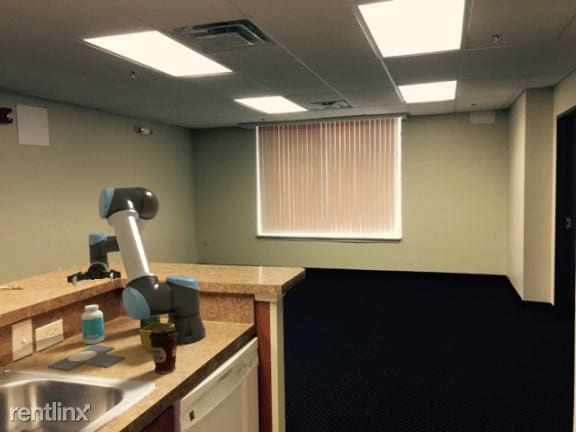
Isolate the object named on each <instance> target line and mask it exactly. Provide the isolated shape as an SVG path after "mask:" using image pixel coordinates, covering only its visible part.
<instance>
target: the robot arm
mask: <svg viewBox="0 0 576 432" xmlns="http://www.w3.org/2000/svg"><path fill="white" fill-rule="evenodd" d="M159 201H160V200H159V199H158V196H157V195H156V194H155V192H153V191H152V190H151V189H150V188H146V187H143V186H136V187H135V186H134V187H109V188H103V189H102V191H101V192H100V195H99V200H98V213H99V217H100V218H101V219H103V220H105V219H106V223H107V224H108V225H109V226H110V227H113V230H114V231H113V232H114V235H107V233H106V232H93V233H90V234H89V235H88V250H89V251H88V252H89V267H88V269H87V271H85V272H82V271H78V272H77V273H73V274H71V275H68V276H66V279H67V280H66V281H67V283H68V284H69V283H71V285H72V287H76V286H77V284H78V282H82V281H89V280H91V281H92V280H94V279H102V280H104V279H109V282H110V283H111V284H113V282H114V280H116V279H122V272H121V271H119V270H116V269H109V267H110V266H109V265H110V264H109V260H108V259H109V258H108V257H109V256H108V253H116V252H119V253H120V256H121V260H122V263H123V266H124V271H125V274H126V278H127V282H126V284H125V286H124V287H125V288H124V289H123V291H122V293H121V295H122V304H123V307H124V309H125V312H126V313H127V315H128V316H129V317H130V318H131V319H132V320H135V321H140V319H148V318H150V317H155V316H160V317H161V316H163V315H167V316H168V318H167V319H168V320H167V323H168V324H174V328H175V331H177V332H178V337H177V342H176V345H183V344H189V343H190V344H191V343H196V342H199V341H201V340H203V339H204V338H206V336H207V333H206V332H207V331H206V327H205V325H204V322H203V319H202V317H201V308H200V287H199V286H200V285H199V281H198V279H197V277H194V276H189V275H168V276H166V278H165V281H162V282H161V281H160V280H159V277H158V276H157V275H156V274H154V273H153V272H152V268H151V266H150V262H149V259H148V256H147V253H146V249H145V246H144V242H143V240H142V237H141V235H142V234H143V232H144V230H145V229H146V227H147V225H148V224H149V222H150V221H151V220H153V219H154V218H155V217H156V216H157V214H159V213H158V212H159V211H160V202H159Z"/></svg>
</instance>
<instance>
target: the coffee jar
mask: <svg viewBox="0 0 576 432" xmlns="http://www.w3.org/2000/svg"><path fill="white" fill-rule="evenodd" d="M154 322H157V323H162V322H161V315H160V316H155V317H150V318H148V319H140V320H139V323H140V324H139V325H140V327H139V328H140V329H142V328H144V327H146V326H148V325H150V324H152V323H154Z"/></svg>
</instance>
